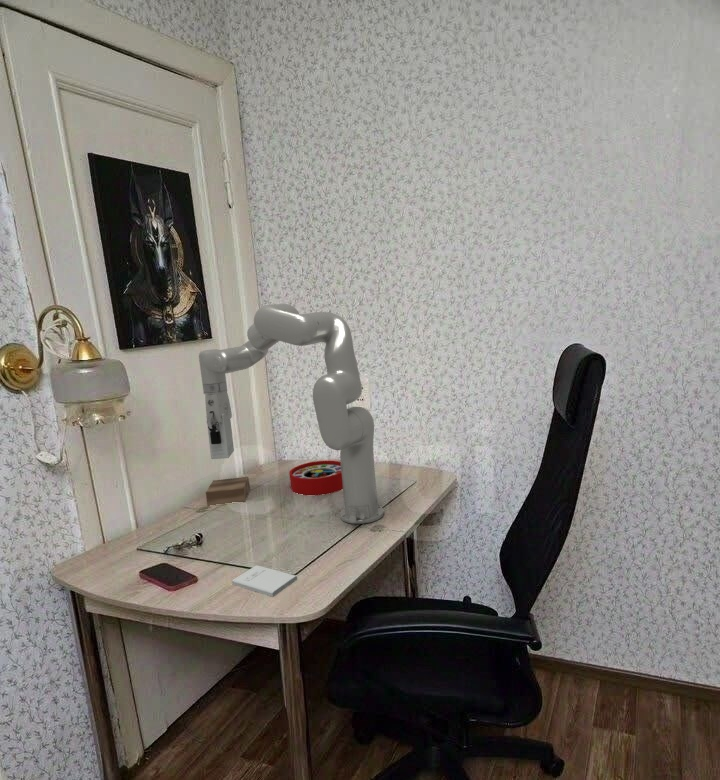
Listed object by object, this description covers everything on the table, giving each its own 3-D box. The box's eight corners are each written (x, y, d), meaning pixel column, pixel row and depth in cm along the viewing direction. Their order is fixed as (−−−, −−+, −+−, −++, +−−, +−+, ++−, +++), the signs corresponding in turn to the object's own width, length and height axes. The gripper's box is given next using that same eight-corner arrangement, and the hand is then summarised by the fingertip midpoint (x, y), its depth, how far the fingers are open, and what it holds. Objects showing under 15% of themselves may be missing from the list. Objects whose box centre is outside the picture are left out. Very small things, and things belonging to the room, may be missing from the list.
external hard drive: (273, 599, 116) (232, 586, 122) (297, 581, 122) (258, 570, 129) (272, 592, 115) (231, 579, 122) (297, 575, 122) (257, 563, 129)
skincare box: (217, 453, 182) (211, 409, 180) (235, 451, 182) (229, 408, 179) (210, 460, 174) (204, 415, 171) (229, 458, 174) (223, 413, 171)
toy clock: (298, 461, 195) (352, 459, 192) (300, 476, 196) (354, 475, 193) (281, 479, 176) (341, 478, 172) (283, 496, 177) (342, 495, 173)
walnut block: (245, 503, 174) (243, 488, 174) (207, 507, 174) (205, 492, 173) (250, 490, 186) (248, 476, 186) (215, 494, 186) (213, 480, 185)
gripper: (215, 392, 165) (222, 446, 168) (235, 383, 182) (241, 432, 185) (192, 393, 166) (200, 447, 169) (214, 384, 183) (220, 433, 186)
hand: (221, 439), depth 177 cm, fingers closed on skincare box, 8 cm apart
